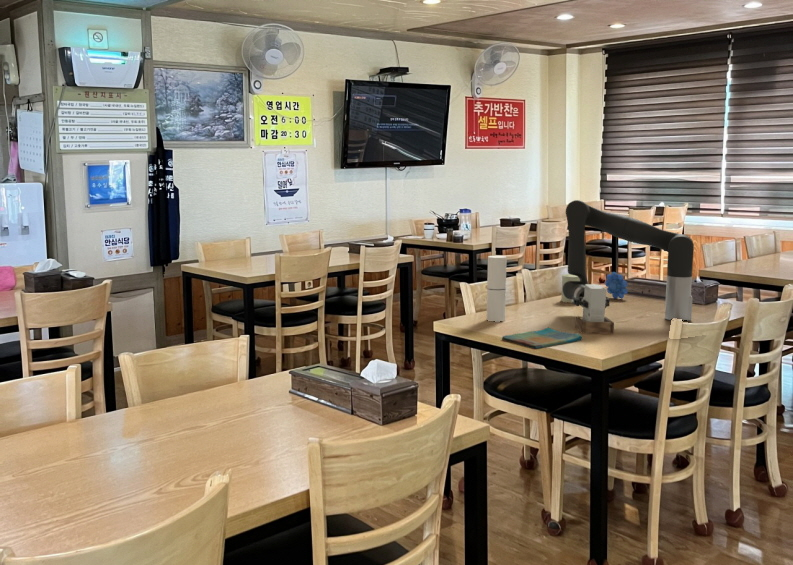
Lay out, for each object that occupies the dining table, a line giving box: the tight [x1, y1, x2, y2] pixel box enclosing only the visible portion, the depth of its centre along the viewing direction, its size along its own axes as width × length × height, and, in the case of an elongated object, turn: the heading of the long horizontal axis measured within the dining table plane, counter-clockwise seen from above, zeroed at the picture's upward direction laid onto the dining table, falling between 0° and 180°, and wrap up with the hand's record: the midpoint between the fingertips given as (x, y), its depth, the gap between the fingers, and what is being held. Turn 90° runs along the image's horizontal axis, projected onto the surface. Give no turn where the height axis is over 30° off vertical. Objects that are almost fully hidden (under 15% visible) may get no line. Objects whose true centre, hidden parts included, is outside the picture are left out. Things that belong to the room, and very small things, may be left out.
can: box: [560, 273, 580, 304], centre depth 352 cm, size 9×9×12 cm
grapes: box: [604, 271, 629, 300], centre depth 359 cm, size 12×7×12 cm, turn 43°
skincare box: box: [581, 283, 607, 322], centre depth 292 cm, size 8×6×15 cm
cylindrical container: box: [486, 255, 508, 323], centre depth 308 cm, size 7×7×25 cm
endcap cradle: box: [574, 316, 615, 335], centre depth 292 cm, size 11×11×4 cm
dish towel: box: [501, 326, 583, 350], centre depth 276 cm, size 17×23×2 cm
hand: (596, 305), depth 289 cm, fingers closed on skincare box, 6 cm apart
